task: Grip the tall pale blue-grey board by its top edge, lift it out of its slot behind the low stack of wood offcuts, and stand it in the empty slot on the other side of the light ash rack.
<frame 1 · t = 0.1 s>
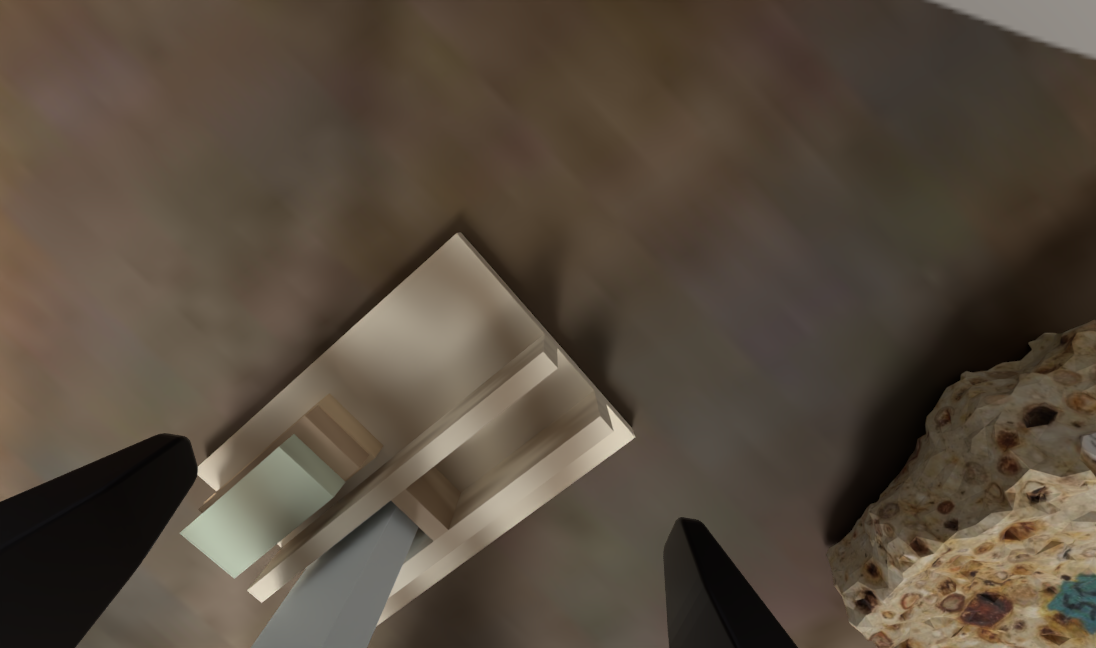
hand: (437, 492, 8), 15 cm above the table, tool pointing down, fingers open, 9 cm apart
rock: (969, 476, 26), on the table
rack: (415, 445, 25), on the table
sheet: (369, 531, 25), point 1 cm above the table, touching rack
offcut stack: (300, 467, 24), point 1 cm above the table, touching rack
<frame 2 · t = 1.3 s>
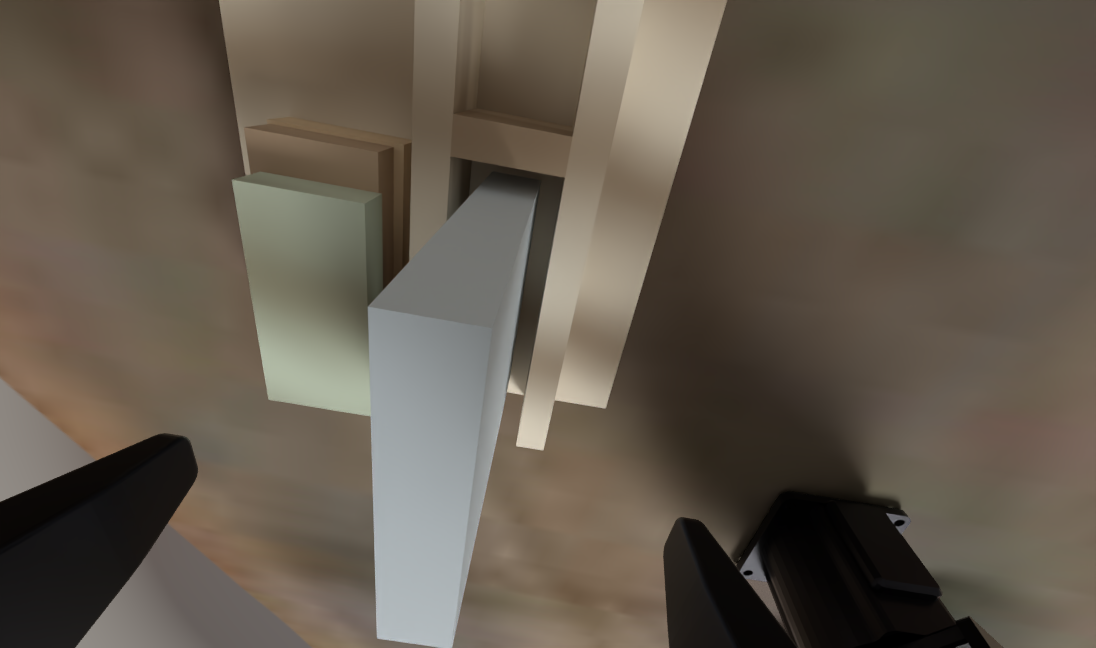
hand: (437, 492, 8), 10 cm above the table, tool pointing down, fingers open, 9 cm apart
rack: (465, 120, 15), on the table
sheet: (502, 286, 16), point 1 cm above the table, touching rack
offcut stack: (358, 261, 16), point 1 cm above the table, touching rack
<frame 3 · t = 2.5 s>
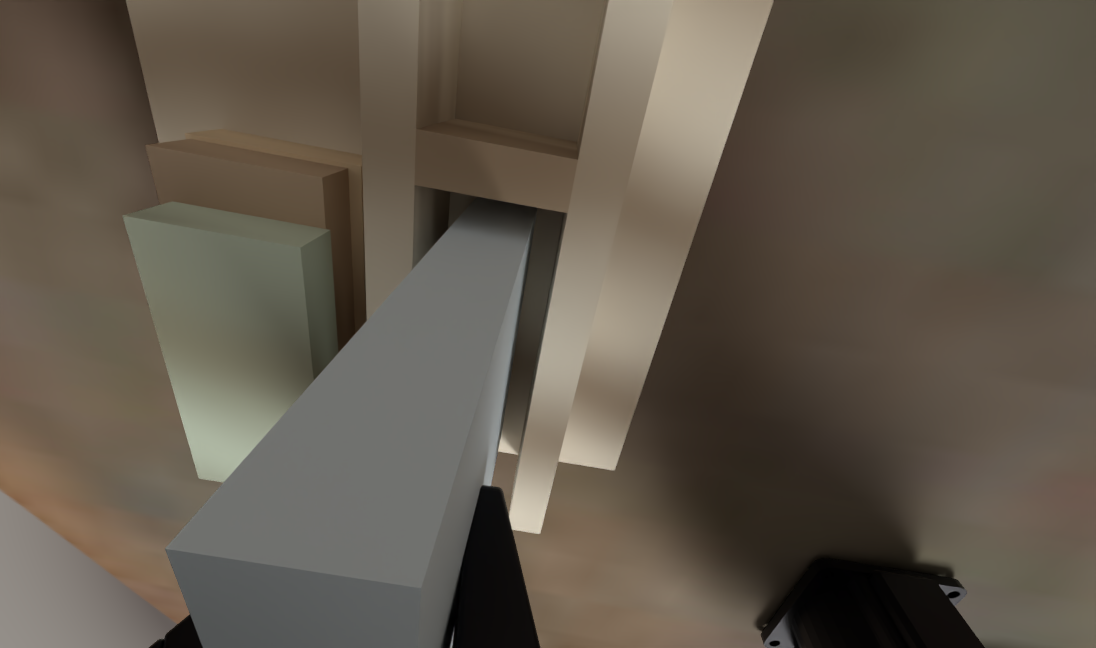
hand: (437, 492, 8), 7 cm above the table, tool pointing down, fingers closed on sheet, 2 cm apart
rack: (444, 132, 12), on the table
sheet: (490, 333, 13), point 1 cm above the table, touching gripper, rack
offcut stack: (315, 302, 13), point 1 cm above the table, touching rack
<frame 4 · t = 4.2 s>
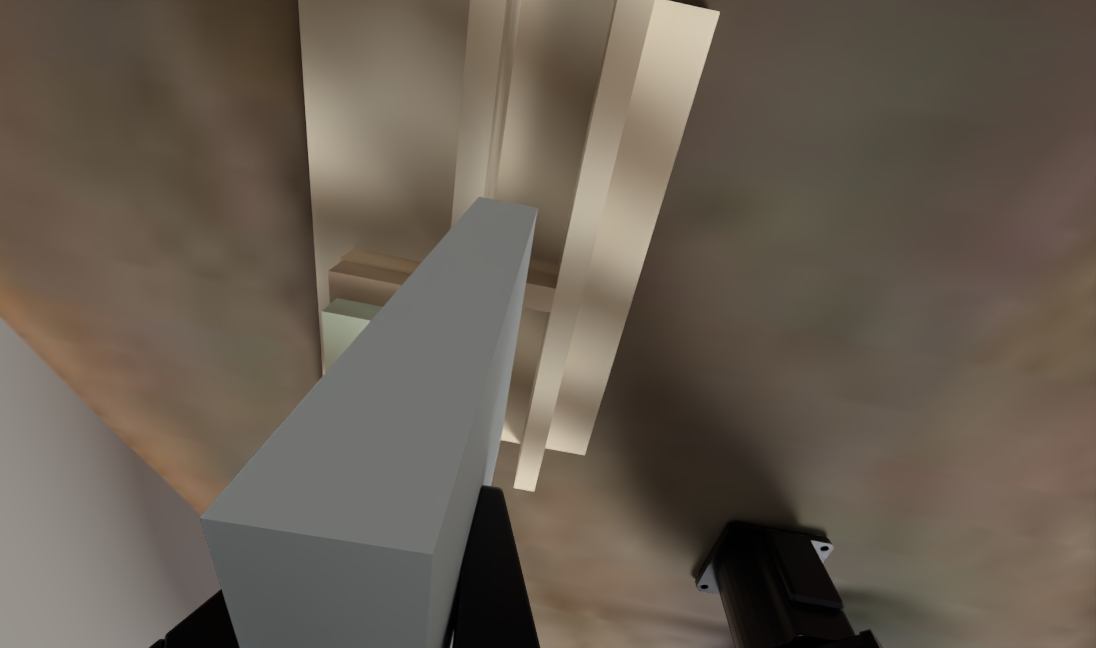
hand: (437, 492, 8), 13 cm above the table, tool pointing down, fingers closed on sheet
rack: (480, 248, 20), on the table
sheet: (492, 330, 14), point 7 cm above the table, touching gripper
offcut stack: (396, 345, 21), point 1 cm above the table, touching rack
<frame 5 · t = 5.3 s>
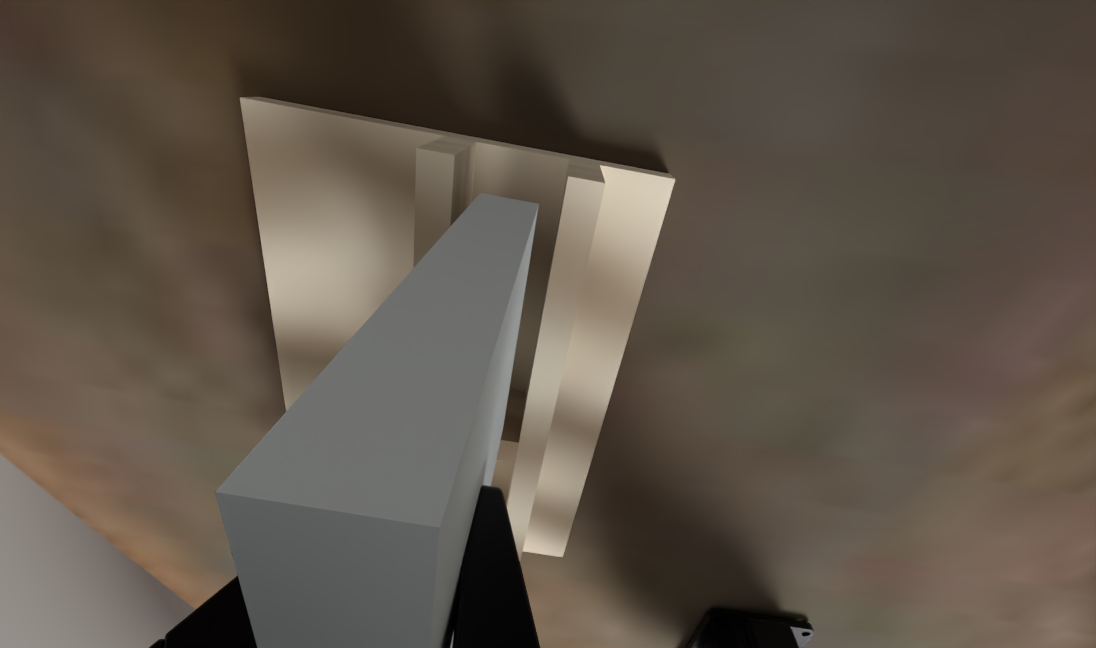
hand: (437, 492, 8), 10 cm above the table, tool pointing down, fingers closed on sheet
rack: (449, 374, 20), on the table
sheet: (493, 326, 14), point 4 cm above the table, touching gripper
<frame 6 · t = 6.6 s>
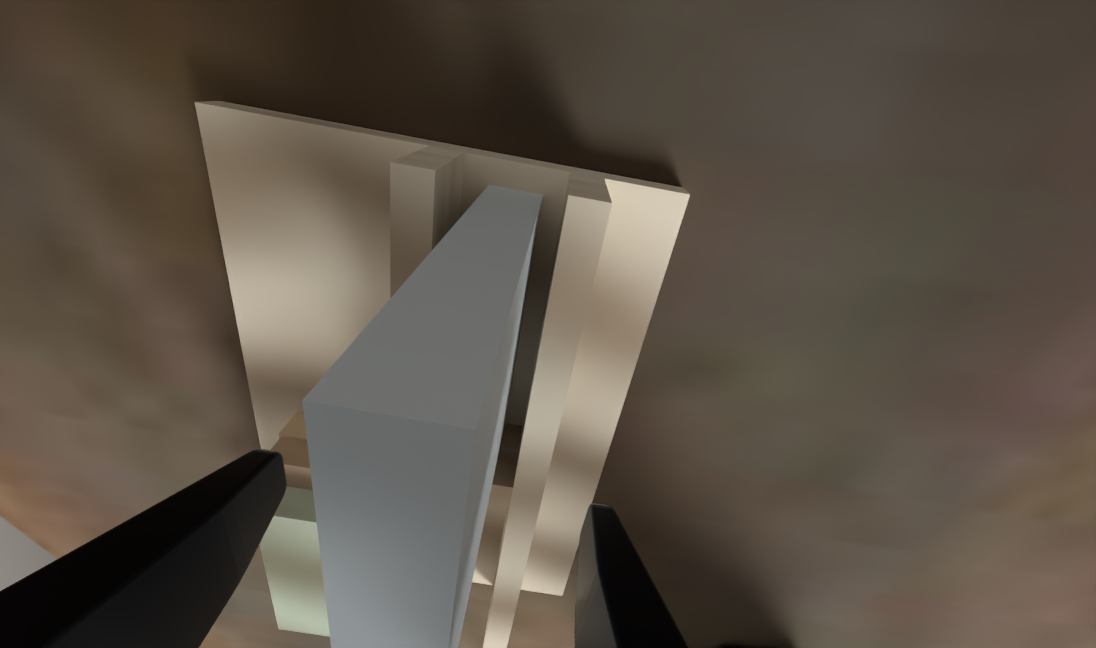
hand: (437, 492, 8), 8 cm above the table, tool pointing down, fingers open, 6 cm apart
rack: (438, 404, 18), on the table
sheet: (499, 310, 15), point 1 cm above the table, touching rack
offcut stack: (352, 498, 20), point 1 cm above the table, touching rack
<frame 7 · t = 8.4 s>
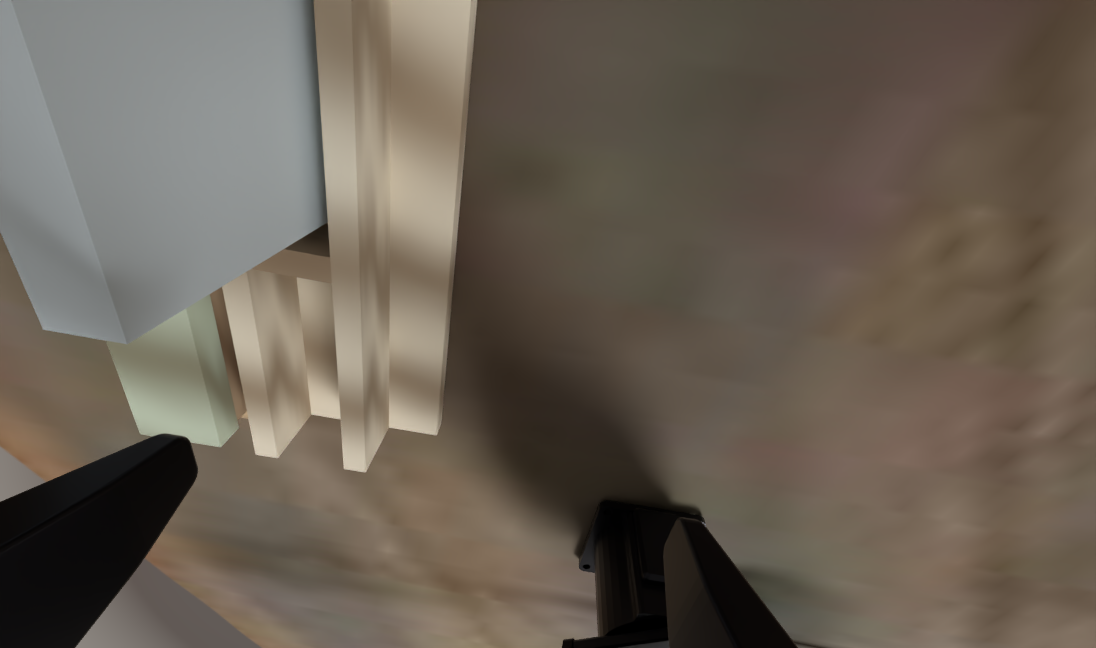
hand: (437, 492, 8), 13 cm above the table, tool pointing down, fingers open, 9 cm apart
rack: (292, 219, 19), on the table
sheet: (320, 93, 16), point 1 cm above the table, touching rack
offcut stack: (219, 322, 20), point 1 cm above the table, touching rack
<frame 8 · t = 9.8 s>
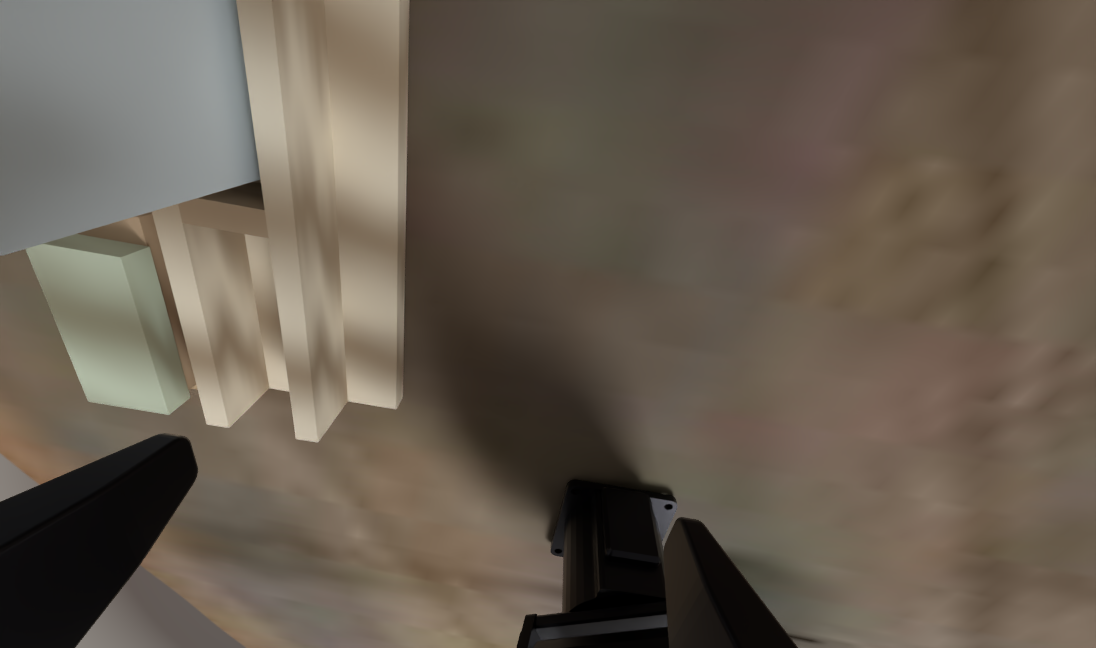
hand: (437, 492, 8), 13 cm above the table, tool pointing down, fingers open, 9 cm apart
rack: (241, 183, 19), on the table
sheet: (257, 47, 15), point 1 cm above the table, touching rack
offcut stack: (172, 291, 20), point 1 cm above the table, touching rack
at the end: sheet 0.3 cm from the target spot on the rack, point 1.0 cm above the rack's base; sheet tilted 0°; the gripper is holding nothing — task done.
